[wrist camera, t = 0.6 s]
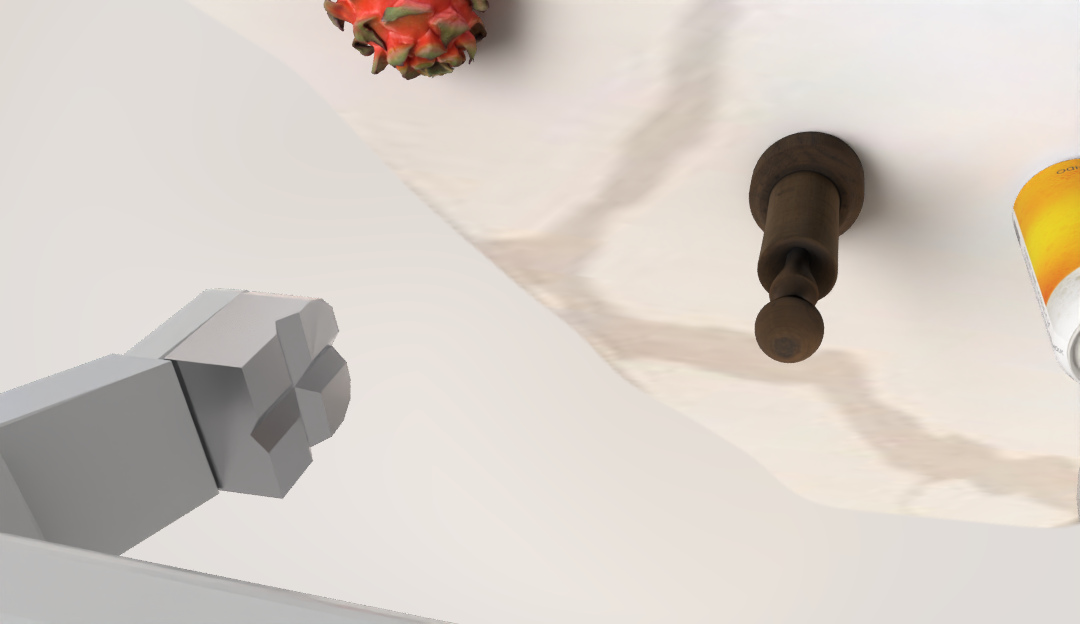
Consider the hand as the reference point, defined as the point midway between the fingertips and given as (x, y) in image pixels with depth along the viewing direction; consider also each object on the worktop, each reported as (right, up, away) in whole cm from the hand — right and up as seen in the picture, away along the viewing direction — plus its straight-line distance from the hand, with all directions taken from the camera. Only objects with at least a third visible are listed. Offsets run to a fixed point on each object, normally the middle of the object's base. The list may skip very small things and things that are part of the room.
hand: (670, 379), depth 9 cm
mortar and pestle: (+15, +9, +43) cm, 47 cm away
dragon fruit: (-9, +21, +44) cm, 50 cm away
